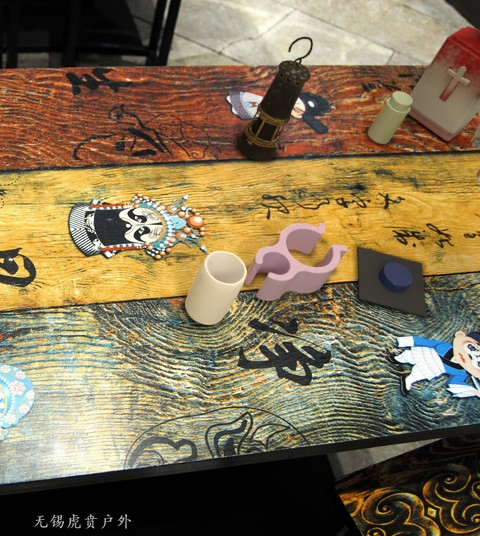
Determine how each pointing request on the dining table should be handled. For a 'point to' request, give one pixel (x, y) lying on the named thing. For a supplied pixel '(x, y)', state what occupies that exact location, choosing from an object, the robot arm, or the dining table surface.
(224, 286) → the cup
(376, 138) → the jar
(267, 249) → the clip
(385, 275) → the lid
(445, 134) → the red white cross box
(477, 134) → the robot arm
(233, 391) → the dining table surface
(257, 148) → the lantern
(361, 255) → the mat
